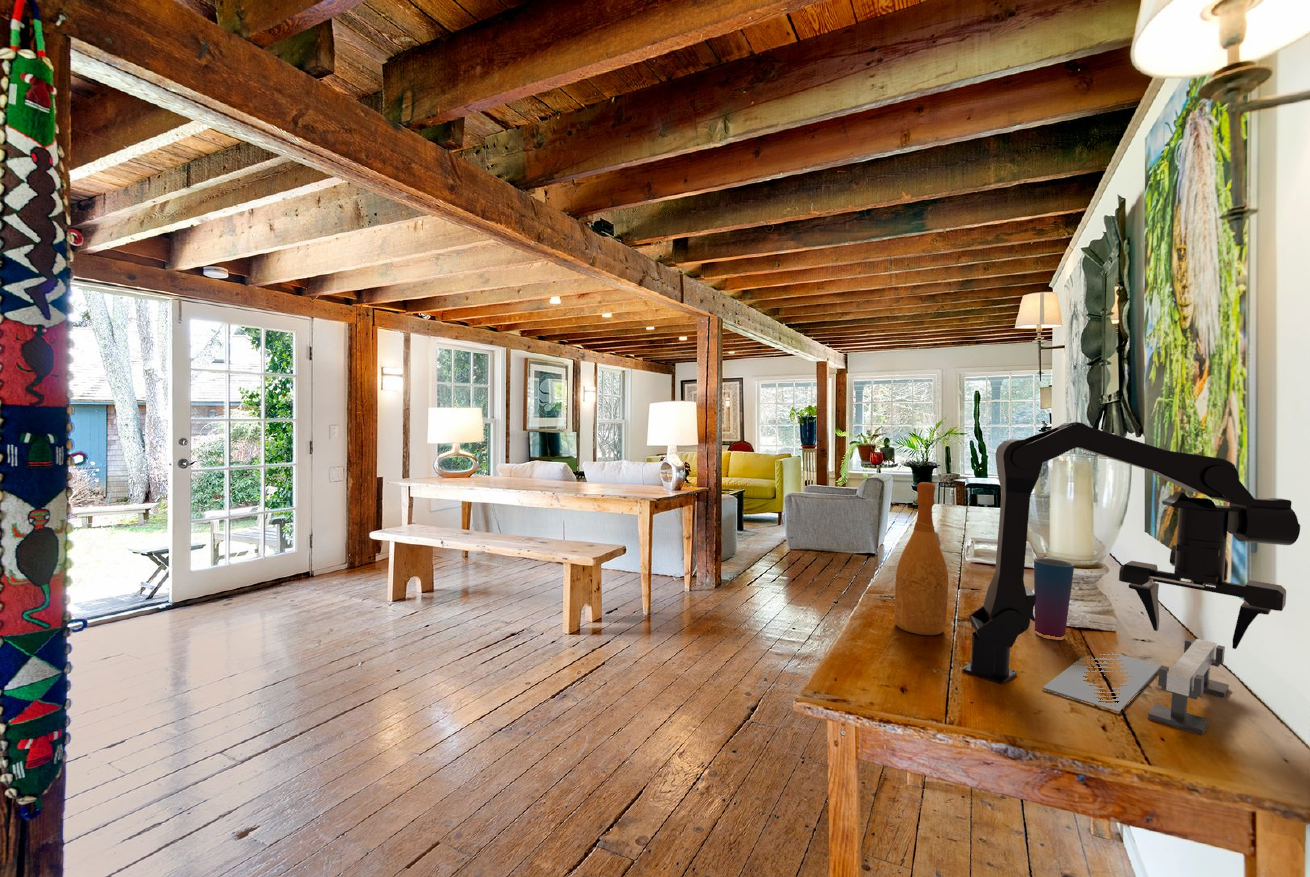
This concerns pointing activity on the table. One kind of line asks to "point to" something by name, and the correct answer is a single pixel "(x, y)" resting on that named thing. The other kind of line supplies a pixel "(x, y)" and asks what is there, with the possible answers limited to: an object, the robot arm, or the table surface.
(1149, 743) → the table surface
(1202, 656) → the rail
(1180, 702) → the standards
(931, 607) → the wine bottle
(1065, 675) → the mat
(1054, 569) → the cup
